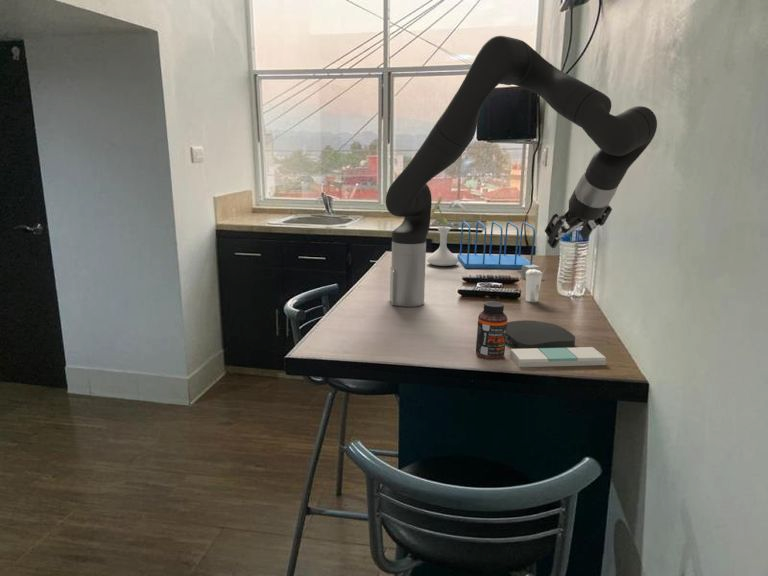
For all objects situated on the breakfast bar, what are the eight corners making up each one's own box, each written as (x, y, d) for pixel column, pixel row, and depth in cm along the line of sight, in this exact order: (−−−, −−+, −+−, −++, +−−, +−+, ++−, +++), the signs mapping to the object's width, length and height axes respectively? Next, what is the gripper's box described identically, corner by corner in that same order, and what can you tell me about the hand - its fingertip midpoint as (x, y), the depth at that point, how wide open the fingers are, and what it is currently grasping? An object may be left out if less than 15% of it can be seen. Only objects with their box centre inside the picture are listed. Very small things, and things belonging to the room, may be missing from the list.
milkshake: (543, 303, 152) (546, 268, 150) (523, 302, 153) (526, 267, 151) (542, 299, 157) (545, 265, 154) (523, 298, 158) (525, 264, 155)
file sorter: (464, 269, 195) (467, 226, 191) (457, 259, 212) (459, 219, 208) (534, 269, 196) (537, 227, 192) (521, 259, 212) (524, 220, 208)
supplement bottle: (487, 362, 110) (491, 309, 107) (469, 353, 115) (472, 301, 113) (510, 358, 113) (514, 305, 110) (492, 348, 118) (495, 298, 115)
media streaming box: (581, 350, 119) (583, 337, 118) (522, 356, 115) (523, 343, 114) (544, 329, 132) (545, 317, 132) (489, 334, 128) (490, 321, 128)
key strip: (518, 367, 108) (519, 359, 108) (509, 355, 114) (509, 348, 114) (605, 365, 110) (606, 357, 110) (592, 354, 116) (592, 346, 115)
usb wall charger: (539, 278, 182) (540, 266, 181) (521, 279, 180) (522, 268, 179) (531, 275, 186) (532, 264, 185) (514, 277, 183) (515, 265, 182)
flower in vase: (436, 260, 208) (439, 194, 202) (463, 264, 201) (467, 196, 195) (418, 266, 198) (420, 196, 191) (446, 270, 191) (449, 198, 185)
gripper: (612, 173, 117) (584, 221, 131) (554, 187, 114) (532, 235, 127) (632, 198, 113) (601, 245, 127) (573, 214, 110) (548, 260, 124)
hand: (567, 240), depth 127 cm, fingers open, 8 cm apart
